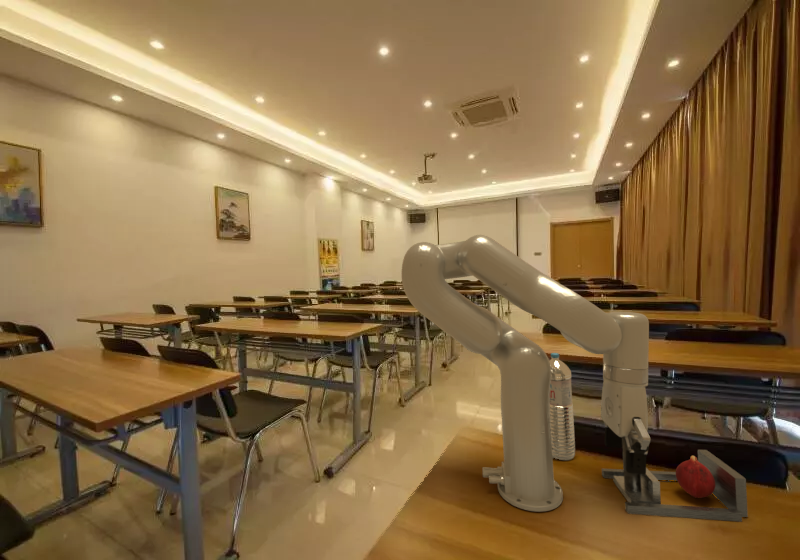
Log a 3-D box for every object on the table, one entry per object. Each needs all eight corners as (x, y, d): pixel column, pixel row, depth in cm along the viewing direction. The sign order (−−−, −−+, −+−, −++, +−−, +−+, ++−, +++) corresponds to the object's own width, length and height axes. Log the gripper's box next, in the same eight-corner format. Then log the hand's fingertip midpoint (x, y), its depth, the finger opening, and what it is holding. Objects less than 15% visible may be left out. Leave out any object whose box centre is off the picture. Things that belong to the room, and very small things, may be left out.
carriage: (631, 506, 65) (628, 443, 65) (613, 481, 73) (610, 425, 72) (661, 508, 64) (657, 444, 64) (639, 482, 72) (636, 426, 71)
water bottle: (579, 462, 80) (574, 356, 80) (549, 461, 82) (543, 357, 81) (570, 447, 87) (565, 350, 87) (542, 446, 88) (537, 350, 88)
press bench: (627, 513, 63) (626, 475, 63) (602, 475, 75) (600, 443, 75) (752, 522, 59) (750, 482, 59) (704, 480, 71) (702, 447, 71)
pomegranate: (724, 509, 63) (722, 465, 63) (688, 506, 64) (686, 464, 64) (703, 489, 68) (701, 450, 68) (670, 487, 70) (668, 448, 69)
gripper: (589, 362, 77) (588, 437, 78) (623, 386, 60) (622, 482, 61) (625, 363, 76) (624, 440, 76) (671, 389, 59) (670, 487, 59)
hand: (623, 458), depth 68 cm, fingers open, 9 cm apart
